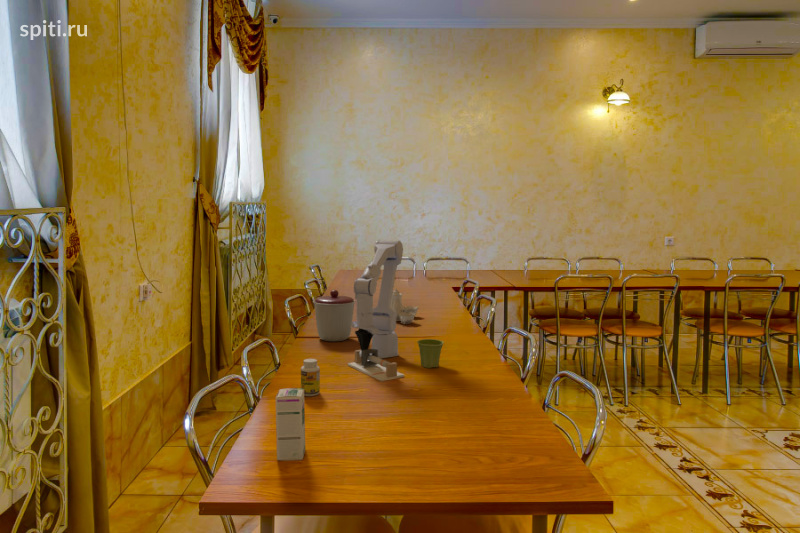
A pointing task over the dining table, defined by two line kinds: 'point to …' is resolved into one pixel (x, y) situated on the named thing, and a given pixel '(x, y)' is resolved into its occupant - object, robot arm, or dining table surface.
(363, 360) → the grey square collar
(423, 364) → the plant pot
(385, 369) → the pipe rig
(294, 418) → the syrup box
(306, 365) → the supplement bottle
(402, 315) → the chinaware
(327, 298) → the canister
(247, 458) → the dining table surface
